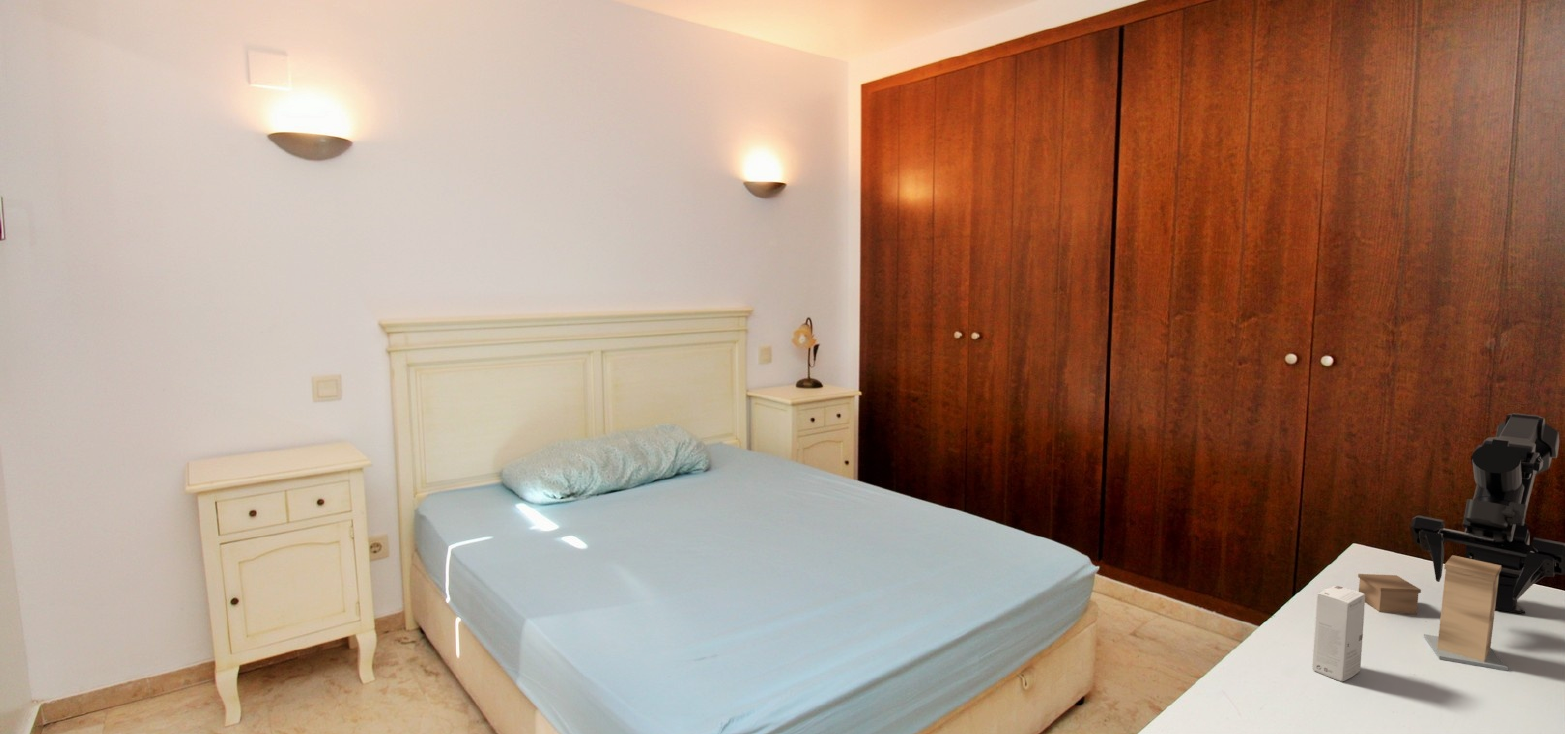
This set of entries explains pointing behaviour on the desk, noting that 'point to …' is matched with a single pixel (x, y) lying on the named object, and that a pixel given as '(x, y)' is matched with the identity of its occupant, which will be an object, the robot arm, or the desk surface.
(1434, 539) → the robot arm
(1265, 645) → the desk surface
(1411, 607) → the walnut trinket box
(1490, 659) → the coaster
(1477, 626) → the oak tea canister
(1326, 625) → the skincare box
